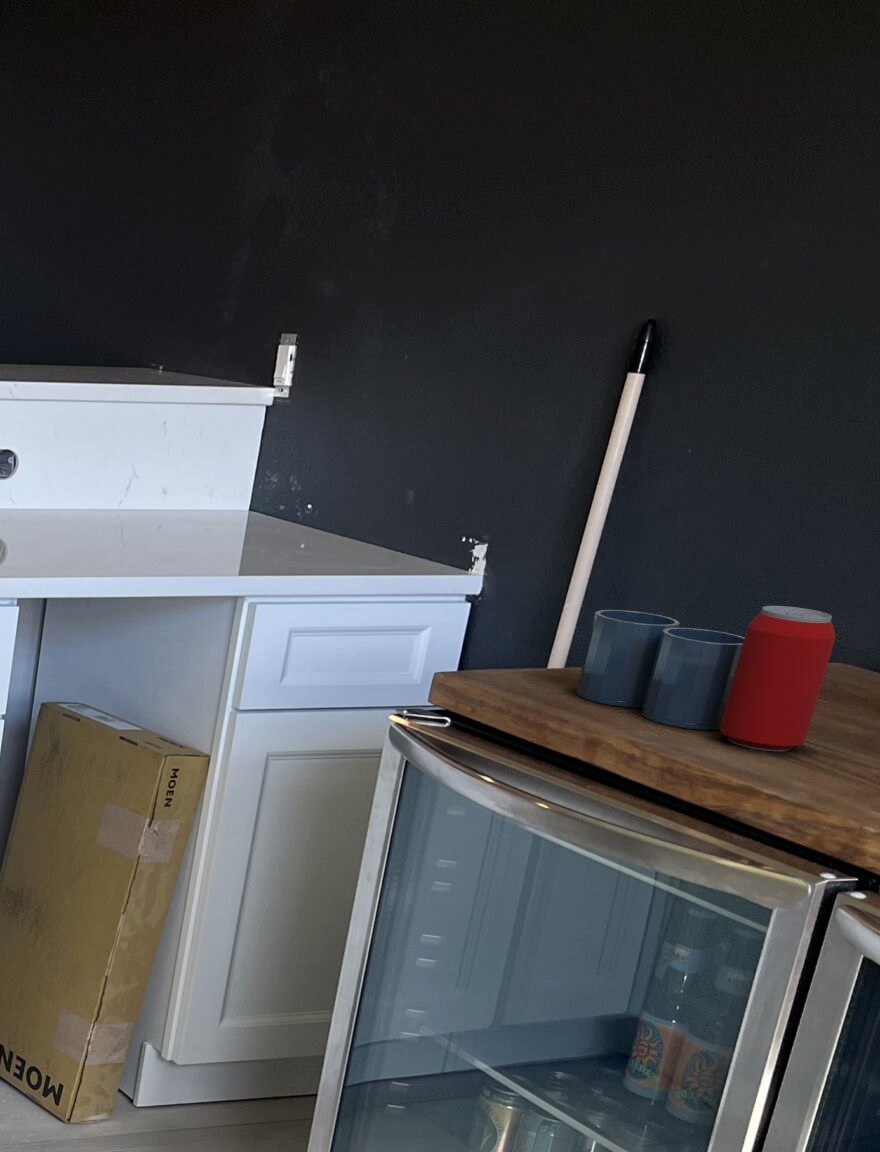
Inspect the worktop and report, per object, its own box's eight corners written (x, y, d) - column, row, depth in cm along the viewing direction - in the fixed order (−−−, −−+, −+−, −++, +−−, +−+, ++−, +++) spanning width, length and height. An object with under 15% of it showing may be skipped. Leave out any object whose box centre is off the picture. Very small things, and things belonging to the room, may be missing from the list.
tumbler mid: (720, 716, 179) (742, 633, 176) (733, 733, 172) (758, 648, 169) (636, 706, 181) (657, 624, 178) (647, 723, 174) (669, 638, 171)
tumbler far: (651, 695, 186) (672, 615, 183) (662, 711, 180) (684, 628, 176) (572, 686, 188) (591, 606, 185) (580, 701, 182) (600, 619, 179)
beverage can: (797, 741, 171) (836, 610, 166) (806, 758, 165) (846, 623, 160) (713, 730, 173) (749, 601, 169) (720, 746, 167) (756, 613, 163)
